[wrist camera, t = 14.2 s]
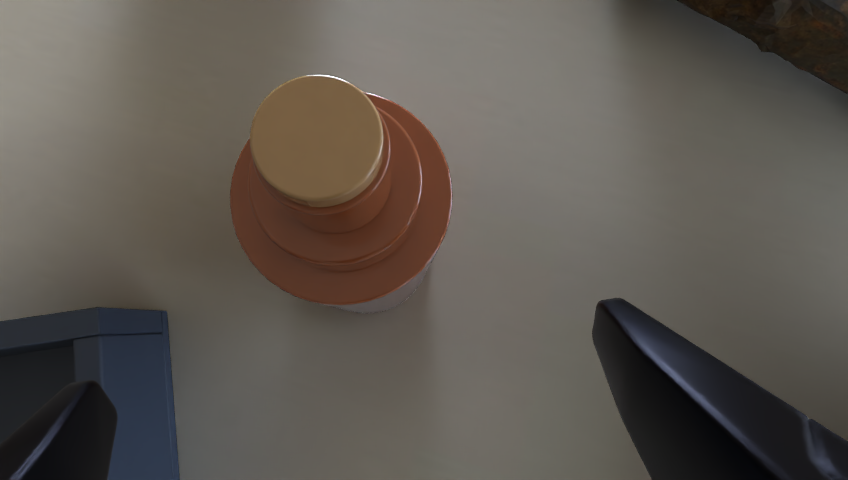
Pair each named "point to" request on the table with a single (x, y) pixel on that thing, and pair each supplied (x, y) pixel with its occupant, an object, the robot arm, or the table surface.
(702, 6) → the hand tool
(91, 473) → the robot arm
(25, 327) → the bin
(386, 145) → the bottle
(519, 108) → the table surface
